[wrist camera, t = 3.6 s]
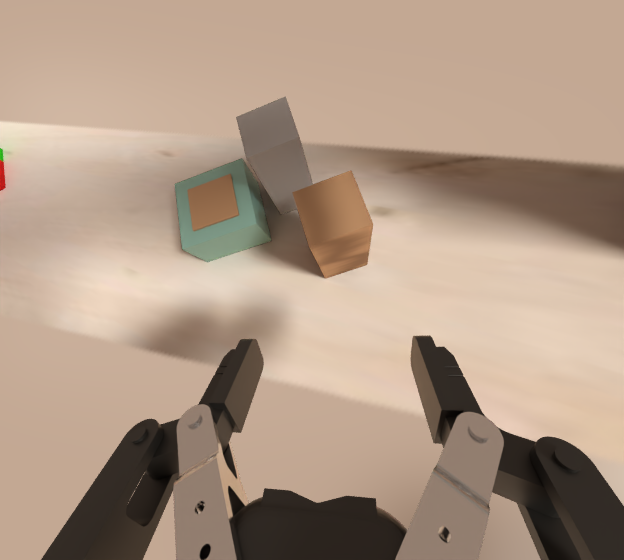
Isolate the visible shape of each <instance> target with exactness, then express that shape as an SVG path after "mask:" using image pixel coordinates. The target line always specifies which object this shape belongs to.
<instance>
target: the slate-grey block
mask: <svg viewBox="0 0 624 560" xmlns="http://www.w3.org/2000/svg"><path fill="white" fill-rule="evenodd" d="M236 118H237V122H238V126H239V130H240V134H241V138H242V142H243V146H244V150H245V154H246V158H247V160H248V161H249V163H250V165H251V166H252V168H253V170H254V171H255V173H256V175H257V176H258V178H259V179H260V181H261V183H262V184H263V186H264V188H265V189H266V191H267V193H268V194H269V196H270V197H271V199H272V201H273V202H274V204H275V206H276V207H277V209H278V211H279V212H280V214H281V215H282V214H284V213H287V212H290V211H293V210H295V209H297V206H296V203H295V200H294V196H293V193H292V192H295V191H297V190H300V189H303V188H305V187H308V186H311V185H313V183H312V180H311V176H310V173H309V169H308V166H307V162H306V159H305V155H304V152H303V148H302V145H301V141H300V138H299V135H298V132H297V129H296V126H295V123H294V120H293V117H292V114H291V111H290V108H289V105H288V103H287V100H286V97H283V98H281V99H278V100H276V101H274V102H271V103H269V104H267V105H264V106H262V107H260V108H257V109H255V110H252V111H250V112H247V113H245V114H243V115H240V116H238V117H236Z"/></svg>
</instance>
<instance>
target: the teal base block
mask: <svg viewBox="0 0 624 560" xmlns="http://www.w3.org/2000/svg"><path fill="white" fill-rule="evenodd" d="M175 192H176V200H177V209H178V218H179V226H180V235H181V244H182V250H184V251H186V252H188V253H190V254H192V255H194V256H196V257H198V258H200V259H202V260H204V261H206V262H210V261H213V260H216V259H219V258H222V257H225V256H228V255H231V254H234V253H237V252H240V251H243V250H246V249H249V248H252V247H255V246H258V245H260V244H263V243H266V242H269V241H271V237H270V232H269V228H268V224H267V220H266V215H265V211H264V207H263V203H262V199H261V194H260V190H259V186H258V183H257V181H256V179H255V178H254V176H253V175H252V173H251V172H250V170H249V168H248V167H247V165H246V164H245V162H244V161H243V159H239V160H236V161H234V162H231V163H229V164H226V165H223V166H221V167H218V168H215V169H213V170H210V171H208V172H205V173H202V174H200V175H197V176H194V177H192V178H189V179H187V180H184V181H181V182H179V183H176V184H175Z"/></svg>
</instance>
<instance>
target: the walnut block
mask: <svg viewBox="0 0 624 560" xmlns="http://www.w3.org/2000/svg"><path fill="white" fill-rule="evenodd" d="M292 193H293V196H294V200H295V203H296V206H297V209H298V213H299V216H300V219H301V223H302V226H303V229H304V232H305V236H306V239H307V242H308V245H309V248H310V250H311V252H312V254H313V255H314V257H315V259H316V261H317V263H318V265H319V267H320V269H321V271H322V273H323V275H324V277H325V278H328V277H332V276H335V275H338V274H341V273H344V272H347V271H350V270H353V269H356V268H359V267H362V266H365V265H367V262H368V255H369V249H370V242H371V235H372V228H373V223H372V220H371V218H370V215H369V213H368V210H367V208H366V205H365V203H364V200H363V198H362V196H361V193H360V191H359V188H358V186H357V183H356V181H355V178H354V176H353V173H352V171H348V172H346V173H343V174H340V175H338V176H335V177H332V178H329V179H327V180H324V181H321V182H319V183H316V184H313V185H311V186H308V187H305V188H303V189H300V190H297V191H295V192H292Z"/></svg>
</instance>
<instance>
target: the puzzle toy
mask: <svg viewBox="0 0 624 560" xmlns="http://www.w3.org/2000/svg"><path fill="white" fill-rule="evenodd" d="M4 188H6V187H5V175H4V162H3V150H2V149H1V148H0V191H1V190H3V189H4Z"/></svg>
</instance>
